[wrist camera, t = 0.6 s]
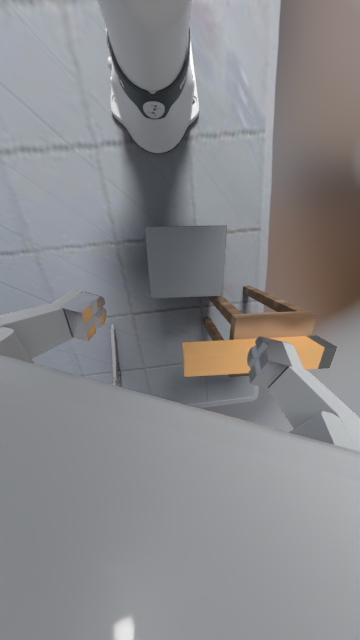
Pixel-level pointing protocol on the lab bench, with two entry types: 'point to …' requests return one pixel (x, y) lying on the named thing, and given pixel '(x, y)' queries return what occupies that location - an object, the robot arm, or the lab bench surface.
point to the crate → (186, 260)
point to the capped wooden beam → (234, 354)
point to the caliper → (114, 357)
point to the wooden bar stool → (261, 319)
